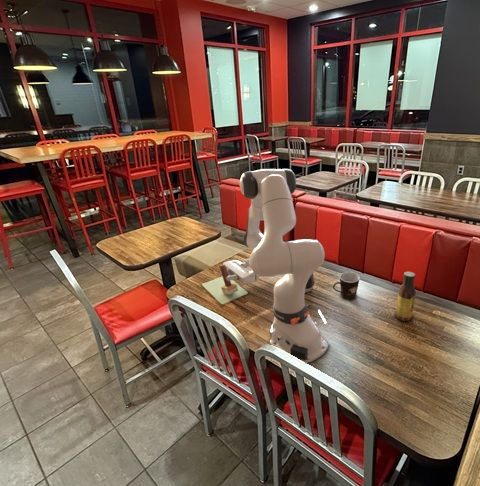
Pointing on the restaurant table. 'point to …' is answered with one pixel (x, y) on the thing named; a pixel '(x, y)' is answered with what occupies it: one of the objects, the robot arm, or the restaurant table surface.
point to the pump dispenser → (309, 284)
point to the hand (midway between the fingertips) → (223, 276)
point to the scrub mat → (216, 290)
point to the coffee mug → (348, 285)
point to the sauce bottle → (406, 298)
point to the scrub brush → (227, 282)
